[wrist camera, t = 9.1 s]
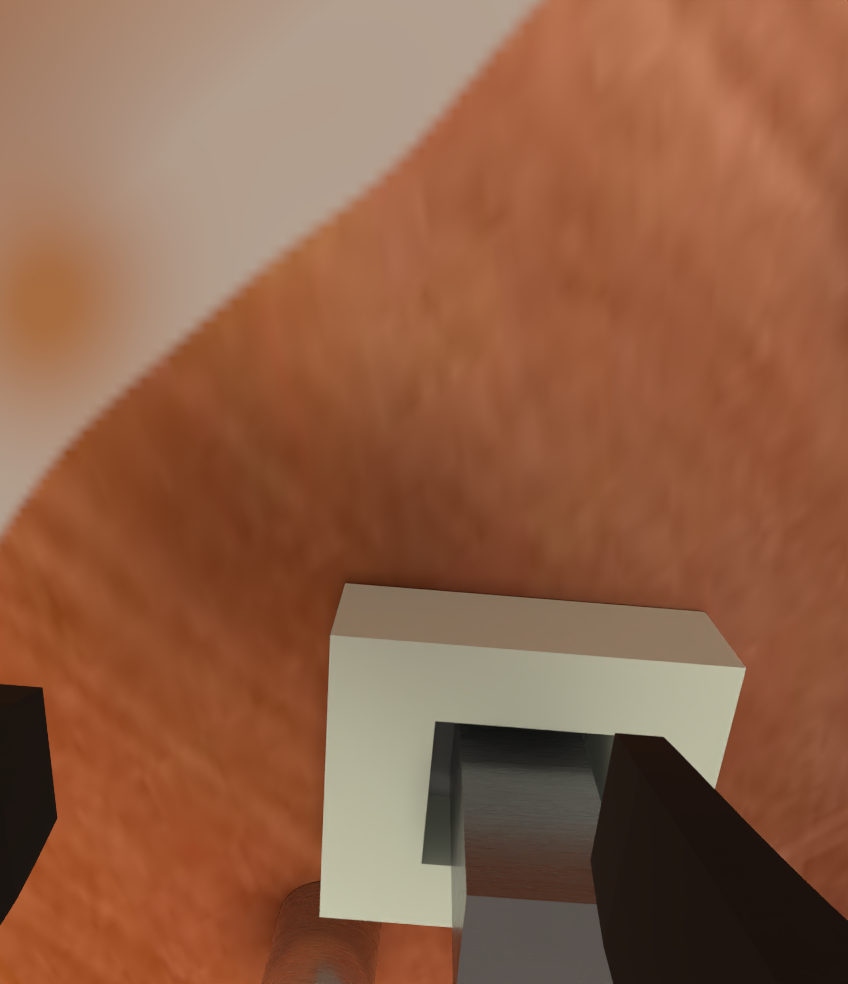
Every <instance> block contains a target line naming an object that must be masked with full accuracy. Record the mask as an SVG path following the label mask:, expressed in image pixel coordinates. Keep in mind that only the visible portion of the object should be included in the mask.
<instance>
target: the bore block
mask: <svg viewBox="0 0 848 984" xmlns="http://www.w3.org/2000/svg"><path fill="white" fill-rule="evenodd" d="M745 671H746V667H745V666H744V665H743V663H742V662H741V660H740V659H739V658H738V656H737V655H736V654H735V652H734V651H733V649H732V648H731V647H730V645H729V644H728V643H727V641H726V640H725V638H724V637H723V636H722V634H721V633H720V632H719V630H718V629H717V628H716V626H715V625H714V623H713V622H712V621H711V619H710V618H709V617H708V615H707V614H706V612H701V611H688V610H676V609H663V608H650V607H638V606H625V605H613V604H600V603H588V602H575V601H562V600H550V599H537V598H525V597H512V596H500V595H487V594H475V593H462V592H449V591H437V590H424V589H412V588H399V587H387V586H374V585H361V584H349V583H345V586H344V589H343V593H342V596H341V600H340V603H339V607H338V610H337V613H336V617H335V620H334V624H333V627H332V631H331V634H330V654H329V680H328V706H327V733H326V759H325V785H324V811H323V837H322V864H321V890H320V916H319V917H325V918H338V919H351V920H364V921H376V922H389V923H402V924H415V925H427V926H440V927H452V890H451V826H450V768H451V758H452V748H453V737H454V727H455V723H465V724H478V725H491V726H503V727H516V728H529V729H541V730H554V731H566V732H579V733H581V735H582V738H583V742H584V745H585V749H586V752H587V756H588V759H589V763H590V766H591V770H592V773H593V776H594V780H595V783H596V787H597V790H598V794H599V797H600V801H601V802H602V797H603V792H604V787H605V782H606V777H607V772H608V767H609V761H610V756H611V751H612V746H613V741H614V736H615V733H623V734H635V735H648V736H660V737H664V738H665V739H666V740H667V741H668V742H670V743H671V744H672V745H673V746H674V747H675V748H676V749H677V750H678V751H679V752H680V753H681V755H682V756H683V757H684V758H685V759H686V760H687V761H688V762H689V763H690V764H691V765H692V766H693V767H694V768H695V769H696V770H697V771H698V772H699V773H700V774H701V775H702V776H703V777H704V778H705V779H706V781H707V782H708V783H709V784H710V785H711V786H712V787H713V788H714V789H715V787H716V783H717V779H718V775H719V771H720V767H721V764H722V760H723V756H724V752H725V748H726V744H727V740H728V736H729V733H730V729H731V725H732V721H733V717H734V713H735V709H736V705H737V702H738V698H739V694H740V690H741V686H742V682H743V678H744V674H745Z"/></svg>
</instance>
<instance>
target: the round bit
mask: <svg viewBox="0 0 848 984" xmlns="http://www.w3.org/2000/svg"><path fill="white" fill-rule="evenodd" d="M320 890H321V882H315V883H310V884H307V885H304V886H302V887H300V888H298V889H296V890H295V891H293V892H292V893H291V894H290V895H289V896H288V897H287V898H286V899H285V901H284V902H283V904H282V906H281V909H280V913H279V917H278V921H277V925H276V929H275V933H274V936H273V940H272V944H271V948H270V952H269V956H268V960H267V963H266V967H265V971H264V975H263V979H262V983H261V984H375V976H376V967H377V957H378V948H379V938H380V928H381V922H376V921H364V920H351V919H338V918H325V917H319V916H320Z"/></svg>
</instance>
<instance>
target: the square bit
mask: <svg viewBox="0 0 848 984" xmlns="http://www.w3.org/2000/svg"><path fill="white" fill-rule="evenodd" d="M600 807H601V801H600V797H599V794H598V790H597V787H596V783H595V780H594V776H593V773H592V770H591V766H590V763H589V759H588V756H587V752H586V749H585V745H584V742H583V738H582V735H581V733H579V732H566V731H554V730H541V729H529V728H516V727H503V726H491V725H478V724H465V723H455V727H454V737H453V748H452V758H451V768H450V826H451V890H452V954H453V984H613V981H612V978H611V974H610V970H609V966H608V962H607V958H606V954H605V950H604V947H603V941H602V935H601V928H600V922H599V916H598V910H597V904H596V897H595V890H594V883H593V876H592V869H591V862H590V858H591V853H592V848H593V843H594V838H595V833H596V828H597V823H598V818H599V812H600Z"/></svg>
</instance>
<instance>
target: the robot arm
mask: <svg viewBox="0 0 848 984" xmlns="http://www.w3.org/2000/svg"><path fill="white" fill-rule="evenodd" d="M56 820H57V811H56V802H55V794H54V785H53V776H52V767H51V759H50V750H49V741H48V732H47V724H46V715H45V706H44V697H43V688H41V687H29V686H16V685H3V684H0V925H1V923H2V922H3V920H4V919H5V917H6V915H7V914H8V912H9V911H10V909H11V908H12V906H13V904H14V903H15V901H16V899H17V898H18V896H19V894H20V892H21V890H22V888H23V886H24V884H25V882H26V880H27V878H28V877H29V875H30V873H31V871H32V869H33V867H34V865H35V863H36V861H37V859H38V857H39V855H40V853H41V851H42V849H43V847H44V845H45V843H46V840H47V838H48V836H49V834H50V832H51V830H52V828H53V826H54V824H55V822H56ZM590 862H591V869H592V876H593V883H594V890H595V897H596V904H597V910H598V916H599V922H600V928H601V935H602V941H603V947H604V950H605V954H606V958H607V962H608V966H609V970H610V974H611V978H612V981H613V984H848V920H847V919H845V918H844V917H843V916H842V915H841V914H840V913H839V912H838V911H837V910H836V909H834V908H833V907H832V906H831V905H830V904H829V903H828V902H827V901H826V900H825V899H824V898H823V897H822V896H821V895H820V894H819V893H818V892H817V891H816V890H815V889H813V888H812V887H811V886H810V885H809V884H808V883H807V882H806V881H805V880H804V879H803V878H802V877H801V876H800V875H799V874H798V873H797V872H796V871H795V870H794V869H793V868H792V867H791V866H790V865H789V864H788V863H787V862H786V861H785V860H784V859H783V858H782V857H781V856H780V855H779V854H778V853H777V852H776V851H775V850H774V849H773V848H772V847H771V846H770V845H769V844H768V843H767V842H766V841H765V840H764V839H763V838H762V837H761V836H760V835H759V834H758V833H757V832H756V831H755V830H754V829H753V828H752V827H751V826H750V825H749V824H748V823H747V822H746V821H745V820H744V819H743V818H742V817H741V816H740V815H739V814H738V813H737V812H736V811H735V810H734V809H733V808H732V807H731V806H730V804H729V803H728V802H727V801H726V800H725V799H724V798H723V797H722V796H721V795H720V794H719V793H718V792H717V791H716V790H715V789H714V788H713V787H712V786H711V785H710V784H709V783H708V782H707V781H706V779H705V778H704V777H703V776H702V775H701V774H700V773H699V772H698V771H697V770H696V769H695V768H694V767H693V766H692V765H691V764H690V763H689V762H688V761H687V760H686V759H685V758H684V757H683V756H682V755H681V753H680V752H679V751H678V750H677V749H676V748H675V747H674V746H673V745H672V744H671V743H670V742H668V741H667V740H666V739H665V738H664V737H660V736H648V735H635V734H623V733H615V736H614V741H613V746H612V751H611V756H610V761H609V767H608V772H607V777H606V782H605V787H604V792H603V797H602V802H601V807H600V812H599V818H598V823H597V828H596V833H595V838H594V843H593V848H592V853H591V858H590Z"/></svg>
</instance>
